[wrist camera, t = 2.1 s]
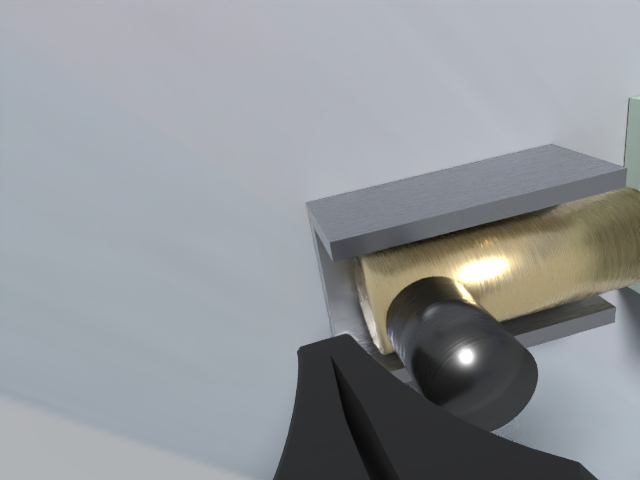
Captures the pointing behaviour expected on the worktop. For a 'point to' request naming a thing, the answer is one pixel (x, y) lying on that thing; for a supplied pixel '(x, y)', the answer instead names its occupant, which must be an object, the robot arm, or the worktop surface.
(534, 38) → the worktop surface
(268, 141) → the worktop surface
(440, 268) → the sliding bolt
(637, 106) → the socket
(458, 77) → the worktop surface
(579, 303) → the grey u channel
